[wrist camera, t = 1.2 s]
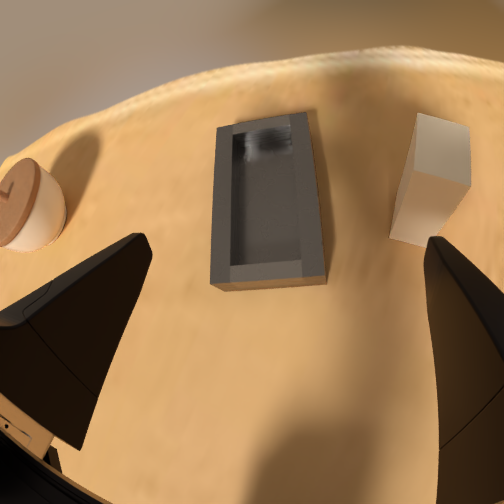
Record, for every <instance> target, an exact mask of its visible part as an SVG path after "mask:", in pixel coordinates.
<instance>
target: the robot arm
mask: <svg viewBox="0 0 504 504" xmlns="http://www.w3.org/2000/svg"><path fill="white" fill-rule="evenodd" d="M151 260H152V250H151V248H150V245H149V243H148V240H147V238H146V236H145V234H143V233H132V234H130V235H128V236H126V237H124V238H123V239H121V240H119V241H117V242H115V243H114V244H112V245H110V246H108V247H107V248H105V249H103V250H101V251H100V252H98V253H96V254H95V255H93V256H91V257H89V258H88V259H86V260H84V261H83V262H81V263H79V264H78V265H76V266H74V267H73V268H71V269H69V270H68V271H66V272H64V273H63V274H61V275H59V276H58V277H56V278H55V279H54V280H51V281H50V282H48V283H47V284H45V285H43V286H42V287H40V288H38V289H37V290H35V291H34V292H32V293H30V294H29V295H27V296H25V297H24V298H22V299H20V300H18V301H17V302H15V303H13V304H12V305H10V306H8V307H7V308H5V309H3V310H2V311H0V504H113V503H111V502H109V501H107V500H105V499H103V498H101V497H99V496H98V495H96V494H94V493H92V492H91V491H89V490H87V489H85V488H84V487H82V486H80V485H79V484H77V483H76V482H74V481H72V480H71V479H69V478H68V477H66V476H65V475H63V474H62V470H61V466H60V461H59V457H58V453H57V449H56V448H54V447H53V446H51V445H50V444H51V442H52V440H53V438H54V436H55V437H57V438H58V439H60V440H61V441H63V442H65V443H66V444H68V445H70V446H72V447H73V448H75V449H77V450H79V451H80V450H81V448H82V446H83V443H84V439H85V436H86V433H87V430H88V427H89V424H90V421H91V418H92V415H93V412H94V409H95V406H96V403H97V401H98V397H99V395H100V392H101V389H102V386H103V384H104V381H105V378H106V376H107V373H108V370H109V368H110V365H111V362H112V360H113V357H114V355H115V352H116V350H117V347H118V345H119V342H120V340H121V337H122V335H123V333H124V330H125V328H126V325H127V323H128V321H129V318H130V316H131V314H132V311H133V309H134V307H135V304H136V302H137V300H138V297H139V295H140V292H141V289H142V287H143V284H144V281H145V278H146V275H147V272H148V269H149V266H150V263H151ZM424 276H425V287H426V300H427V313H428V320H429V326H430V333H431V340H432V347H433V355H434V364H435V374H436V385H437V399H438V419H439V464H438V485H437V498H436V504H504V293H503V292H502V291H501V290H500V289H499V288H498V287H497V286H496V285H495V284H494V283H493V282H492V281H491V280H490V279H489V278H488V277H487V276H486V275H485V274H483V273H482V272H481V271H480V270H479V269H478V268H477V267H476V266H475V265H474V264H473V263H472V262H471V261H470V260H469V259H467V258H466V257H465V256H464V255H463V254H462V253H461V252H460V251H459V250H457V249H456V248H455V247H454V246H453V245H452V244H451V243H449V242H448V241H447V240H446V239H445V238H444V237H442V236H430V237H429V239H428V242H427V247H426V252H425V257H424Z"/></svg>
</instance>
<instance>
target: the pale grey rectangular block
mask: <svg viewBox="0 0 504 504" xmlns="http://www.w3.org/2000/svg"><path fill="white" fill-rule="evenodd" d="M470 187H471V151H470V133H469V127H467V126H464V125H461V124H458V123H454V122H451V121H447V120H444V119H440V118H437V117H433V116H429V115H425V114H422V113H417V118H416V122H415V126H414V131H413V135H412V139H411V143H410V147H409V151H408V155H407V159H406V163H405V166H404V170H403V174H402V177H401V181H400V184H399V188H398V191H397V195H396V201H395V207H394V213H393V219H392V224H391V230H390V235H389V238H390V239H394V240H398V241H402V242H406V243H409V244H413V245H417V246H421V247H424V248H426V247H427V242H428V239H429V237H430V236H436V235H437V234H438V232H439V231H440V230H441V228H442V227H443V226H444V224H445V223H446V222H447V220H448V219H449V218H450V216H451V215H452V213H453V212H454V211H455V209H456V208H457V206H458V205H459V203H460V202H461V201H462V199H463V198H464V196H465V195H466V193H467V192H468V190H469V189H470Z"/></svg>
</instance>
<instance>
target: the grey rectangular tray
mask: <svg viewBox="0 0 504 504" xmlns="http://www.w3.org/2000/svg"><path fill="white" fill-rule="evenodd" d="M210 284H211V285H213V286H215V287H217V288H219V289H221V290H223V291H242V290H258V289H273V288H287V287H300V286H313V285H325V284H327V281H326V267H325V255H324V243H323V232H322V222H321V212H320V202H319V194H318V185H317V177H316V169H315V161H314V154H313V147H312V140H311V133H310V128H309V123H308V118H307V113H306V112H304V113H297V114H290V115H283V116H277V117H271V118H265V119H259V120H253V121H248V122H243V123H238V124H233V125H228V126H223V127H218V128H217V134H216V150H215V167H214V186H213V207H212V233H211V266H210Z"/></svg>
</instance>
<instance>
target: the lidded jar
mask: <svg viewBox="0 0 504 504" xmlns="http://www.w3.org/2000/svg"><path fill="white" fill-rule="evenodd" d="M66 216H67V209H66V205H65V200H64V195H63V192H62V189H61V187H60V186H59V184H58V182H57V181H56V180H55V179H54V177H53V176H52V175H51V174H50V173H49V172H48V171H46V170H45V169H44V168H42V167H41V166H40V165H38V163H37V162H36V161H34V160H33V159H31V158H25V159H22V160H20V161H19V162H17V163H16V164H15V165H14V166H13V167H12V168H11V169H10V170H9V171H8V173H7V174H6V175H5V177H4V178H3V180H2V181H1V183H0V247H3V248H6V249H9V250H12V251H16V252H22V253H29V252H35V251H38V250H40V249H42V248H44V247H45V246H47V245H50V244H52V243H53V242H54V241H55V240H56V239H57V238H58V236H59V235H60V233H61V232H62V230H63V227H64V225H65V221H66Z"/></svg>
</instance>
